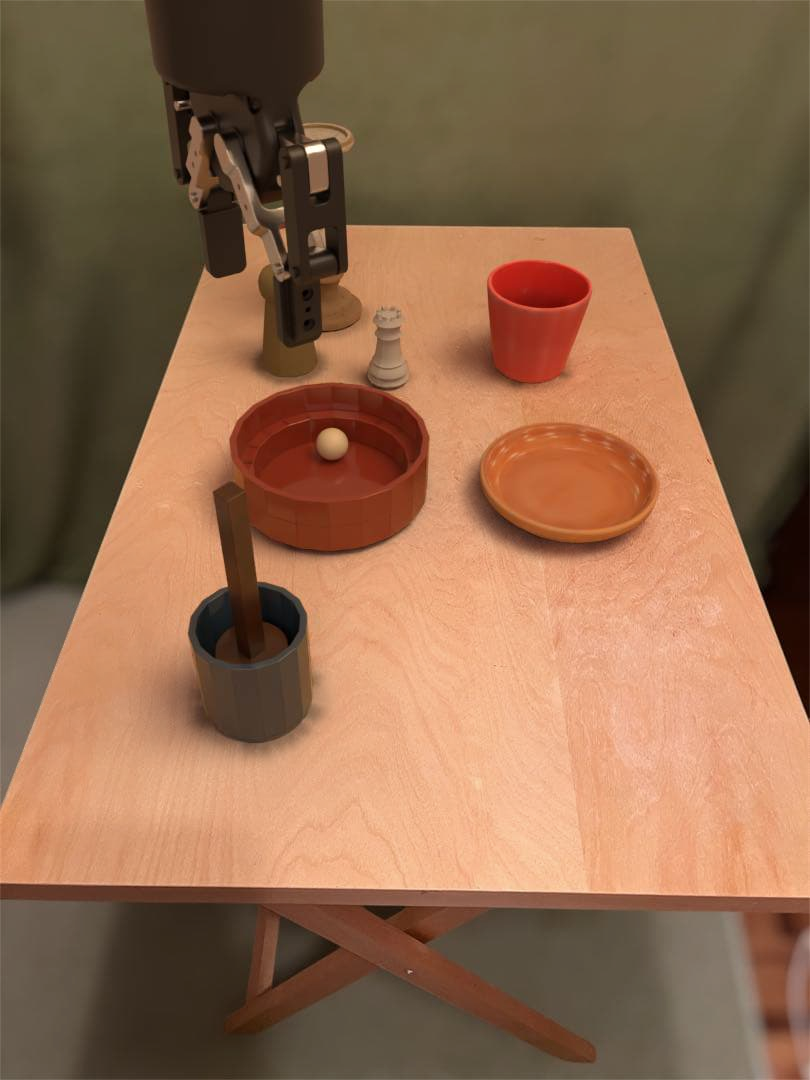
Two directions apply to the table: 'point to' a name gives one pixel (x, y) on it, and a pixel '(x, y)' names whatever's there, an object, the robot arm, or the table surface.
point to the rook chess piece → (388, 351)
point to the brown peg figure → (274, 351)
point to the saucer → (568, 481)
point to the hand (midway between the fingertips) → (261, 305)
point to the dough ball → (332, 444)
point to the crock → (253, 669)
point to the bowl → (331, 466)
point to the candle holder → (335, 299)
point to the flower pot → (535, 317)
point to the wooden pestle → (242, 585)
